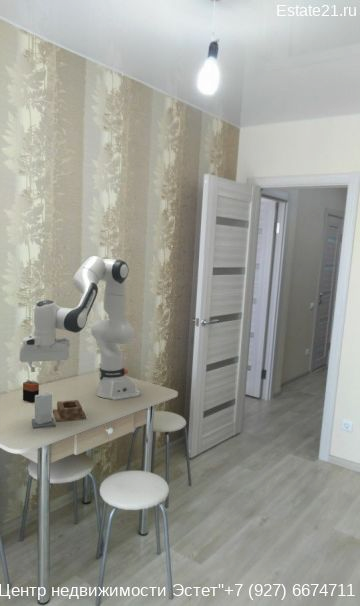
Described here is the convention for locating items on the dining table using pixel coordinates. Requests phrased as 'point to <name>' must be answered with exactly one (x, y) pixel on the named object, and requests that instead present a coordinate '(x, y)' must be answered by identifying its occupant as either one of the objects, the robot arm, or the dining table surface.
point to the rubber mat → (44, 425)
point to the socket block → (69, 411)
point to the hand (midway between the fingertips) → (44, 371)
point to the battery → (30, 390)
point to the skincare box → (43, 408)
